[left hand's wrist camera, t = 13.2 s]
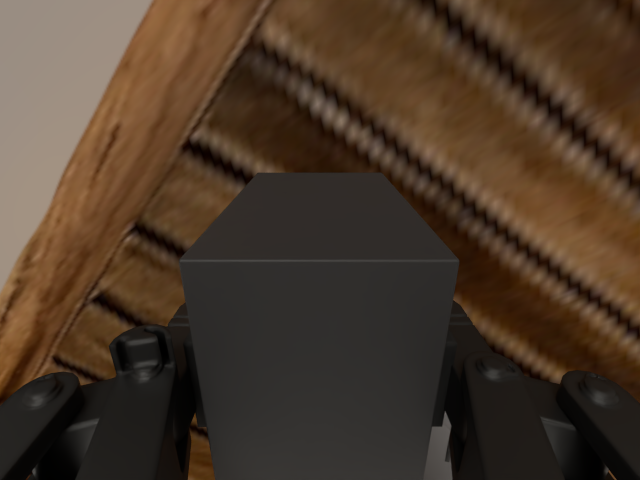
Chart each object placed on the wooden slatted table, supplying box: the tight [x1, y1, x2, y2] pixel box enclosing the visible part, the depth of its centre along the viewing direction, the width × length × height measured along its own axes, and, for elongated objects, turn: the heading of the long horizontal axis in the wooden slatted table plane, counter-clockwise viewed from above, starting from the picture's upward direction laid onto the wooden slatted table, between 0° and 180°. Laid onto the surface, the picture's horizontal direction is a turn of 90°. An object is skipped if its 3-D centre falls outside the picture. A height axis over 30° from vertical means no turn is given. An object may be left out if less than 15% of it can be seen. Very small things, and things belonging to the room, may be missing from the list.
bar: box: [179, 173, 459, 480], centre depth 14 cm, size 22×5×8 cm, turn 0°
